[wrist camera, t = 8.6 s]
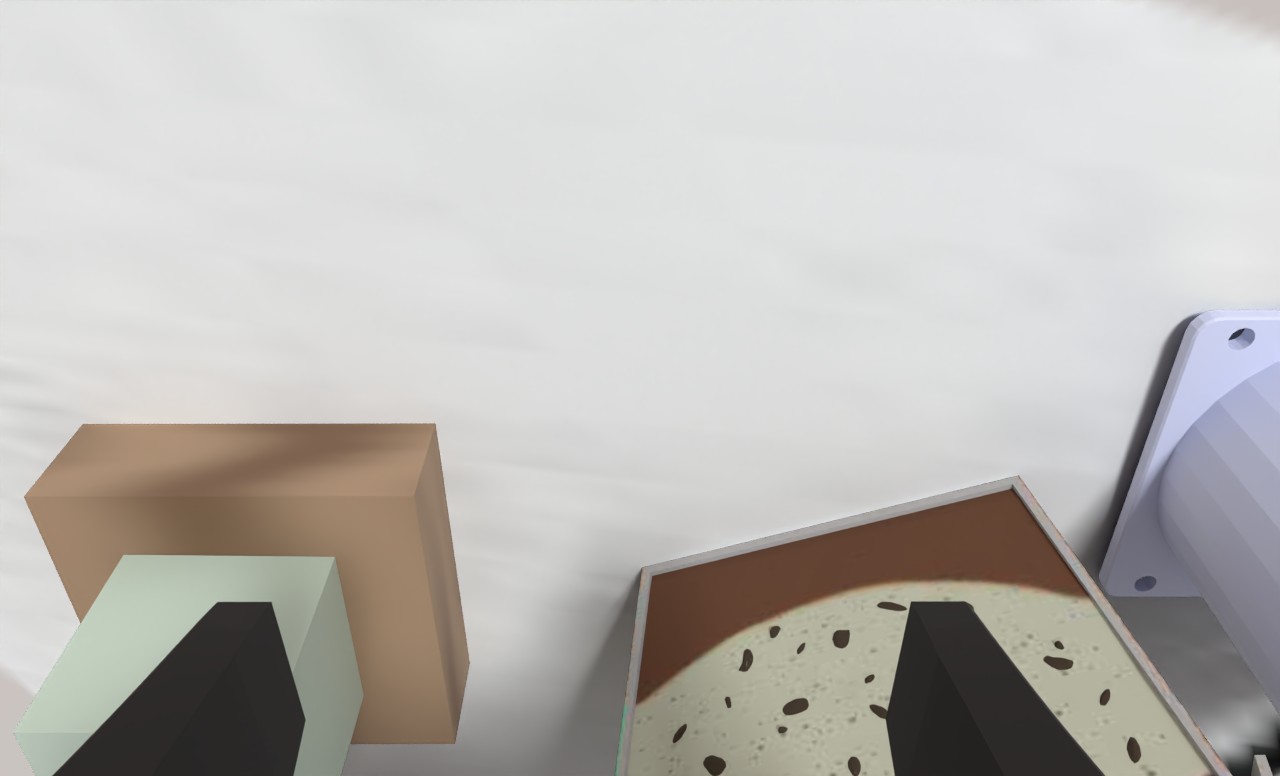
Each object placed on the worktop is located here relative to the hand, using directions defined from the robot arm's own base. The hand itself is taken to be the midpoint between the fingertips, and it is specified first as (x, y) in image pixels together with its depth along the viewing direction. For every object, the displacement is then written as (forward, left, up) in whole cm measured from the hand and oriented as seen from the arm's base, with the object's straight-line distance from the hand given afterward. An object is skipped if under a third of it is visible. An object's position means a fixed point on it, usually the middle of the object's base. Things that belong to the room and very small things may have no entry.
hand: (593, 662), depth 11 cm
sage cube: (+8, +8, -8) cm, 14 cm away
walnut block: (+8, +8, -11) cm, 16 cm away
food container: (-6, +10, -11) cm, 16 cm away
